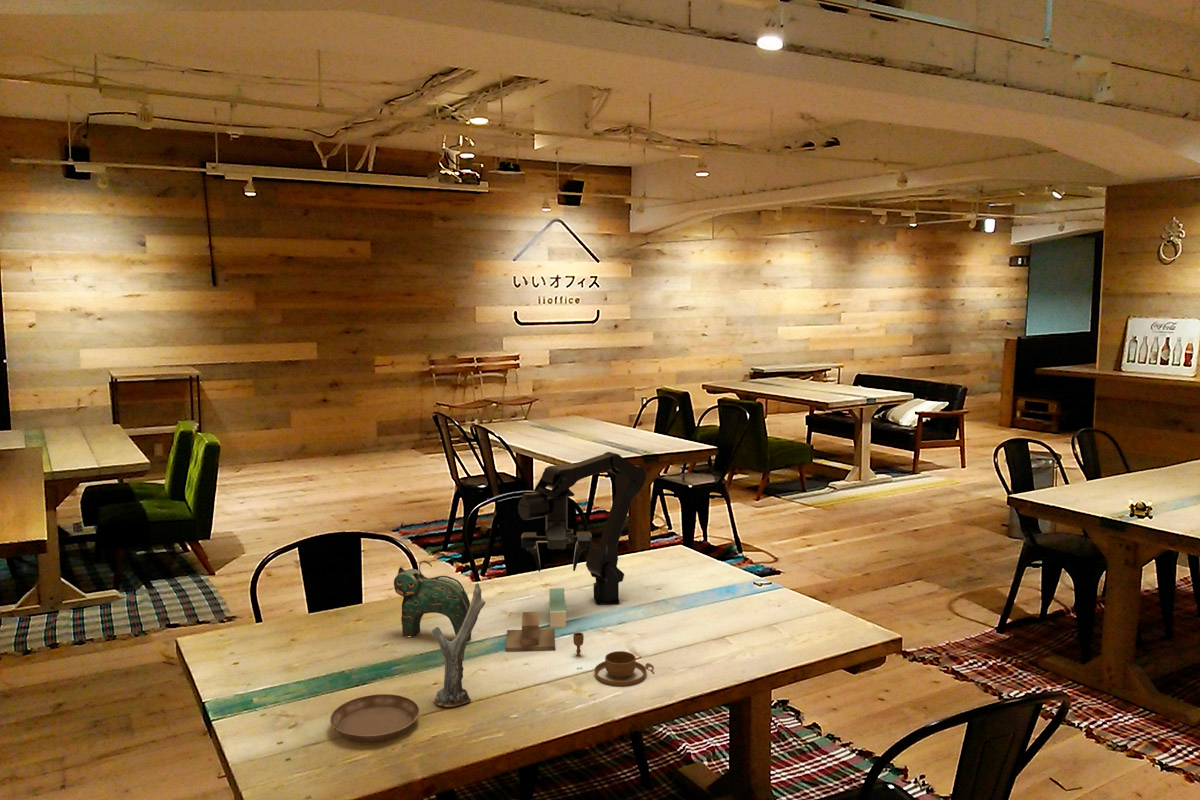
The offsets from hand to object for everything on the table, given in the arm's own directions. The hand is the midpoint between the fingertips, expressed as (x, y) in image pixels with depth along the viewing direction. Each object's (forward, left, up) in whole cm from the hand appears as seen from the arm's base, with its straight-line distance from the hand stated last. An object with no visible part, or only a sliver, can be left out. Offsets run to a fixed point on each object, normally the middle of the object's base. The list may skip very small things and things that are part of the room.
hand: (556, 570), depth 245 cm
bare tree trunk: (+22, +47, -12) cm, 53 cm away
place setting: (-13, +34, -13) cm, 39 cm away
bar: (0, 0, -12) cm, 12 cm away
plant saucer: (+38, +58, -13) cm, 70 cm away
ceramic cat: (+31, +13, -12) cm, 36 cm away
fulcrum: (+7, +18, -12) cm, 23 cm away
